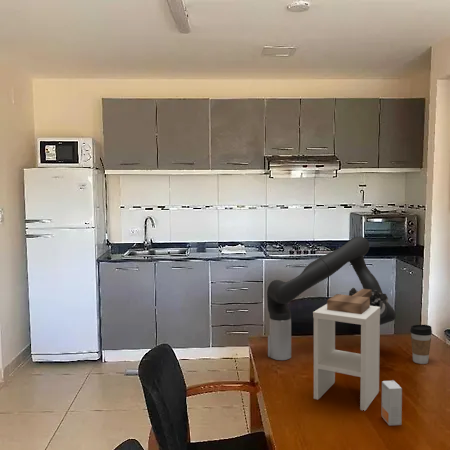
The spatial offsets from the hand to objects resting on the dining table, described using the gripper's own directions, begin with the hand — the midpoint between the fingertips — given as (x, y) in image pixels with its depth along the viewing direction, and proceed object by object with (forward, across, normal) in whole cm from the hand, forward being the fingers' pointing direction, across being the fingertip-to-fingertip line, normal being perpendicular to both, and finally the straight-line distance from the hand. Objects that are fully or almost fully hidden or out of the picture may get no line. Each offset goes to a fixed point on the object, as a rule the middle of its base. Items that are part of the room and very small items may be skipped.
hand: (363, 291), depth 187 cm
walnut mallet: (+7, 0, +7) cm, 10 cm away
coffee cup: (-41, +16, +16) cm, 46 cm away
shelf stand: (0, 0, +39) cm, 39 cm away
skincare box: (+10, +18, +44) cm, 49 cm away
